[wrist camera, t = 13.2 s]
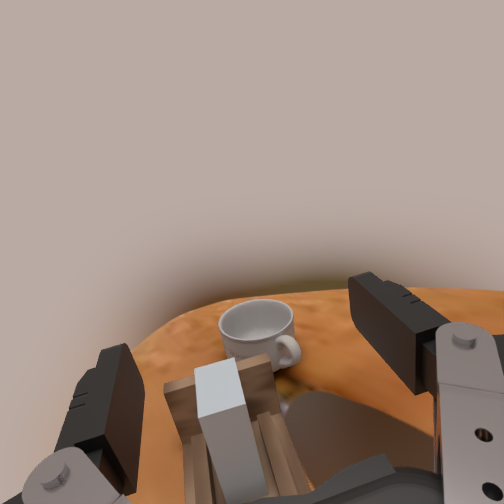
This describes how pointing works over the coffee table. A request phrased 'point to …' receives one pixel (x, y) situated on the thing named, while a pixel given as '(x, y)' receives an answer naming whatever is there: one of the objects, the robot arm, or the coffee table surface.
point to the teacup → (260, 332)
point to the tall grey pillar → (229, 432)
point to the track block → (264, 429)
